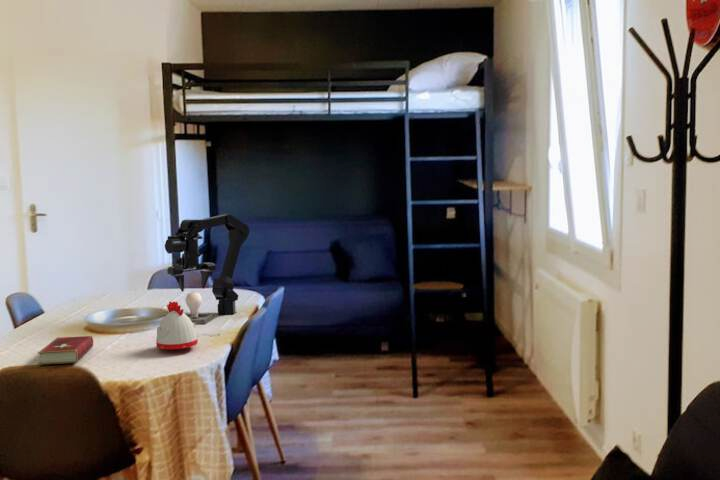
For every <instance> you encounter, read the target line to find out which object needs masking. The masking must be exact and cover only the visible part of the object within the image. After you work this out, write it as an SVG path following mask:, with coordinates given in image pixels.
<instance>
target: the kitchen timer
mask: <svg viewBox="0 0 720 480" xmlns="http://www.w3.org/2000/svg"><path fill="white" fill-rule="evenodd" d="M166 307H167V310H168V311H167V312H168V313H167V314H166V315H165V316H164V318H163V319H162V320H161V322H160V324H159V326H158V327H157V328H156V338H155V339H156V342H155V344H156V348H158V349H163V350H182V349H186V348H190V347H194V346H197V345H198V334H197V330H196V324H195V323H192V321H191V320H190V319H189V317H188V316H187V315H186V314H187V313H184V308H183V309H182V306H181V304H180V305H179V303H178V301H174V300H173V301H169V303H168V304H166Z"/></svg>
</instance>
